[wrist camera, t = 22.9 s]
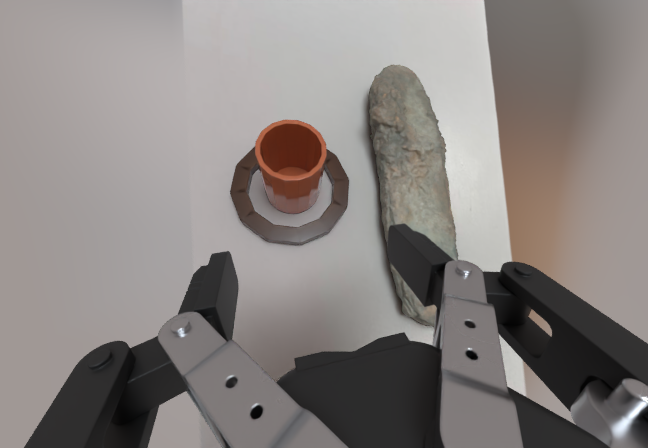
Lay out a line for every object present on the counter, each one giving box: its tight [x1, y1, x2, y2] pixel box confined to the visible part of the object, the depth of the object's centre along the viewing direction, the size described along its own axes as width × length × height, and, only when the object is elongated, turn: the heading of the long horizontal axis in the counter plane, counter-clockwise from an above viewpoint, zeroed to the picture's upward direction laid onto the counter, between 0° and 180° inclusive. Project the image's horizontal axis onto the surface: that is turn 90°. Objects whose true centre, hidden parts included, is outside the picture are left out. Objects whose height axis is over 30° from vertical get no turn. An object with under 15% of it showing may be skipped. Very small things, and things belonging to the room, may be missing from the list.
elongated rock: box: [369, 65, 458, 327], centre depth 31 cm, size 35×5×10 cm
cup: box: [255, 120, 327, 214], centre depth 27 cm, size 6×6×8 cm
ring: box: [230, 147, 349, 245], centre depth 30 cm, size 14×14×1 cm
